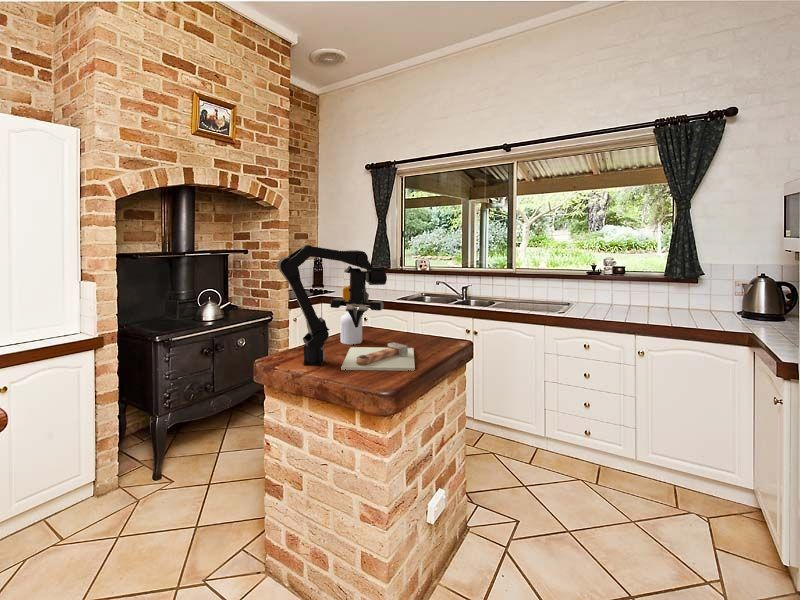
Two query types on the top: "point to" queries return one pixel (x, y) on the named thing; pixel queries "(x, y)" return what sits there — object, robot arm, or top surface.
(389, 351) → the link
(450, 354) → the top surface
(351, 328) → the soap bottle
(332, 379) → the top surface
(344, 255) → the robot arm
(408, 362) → the base board
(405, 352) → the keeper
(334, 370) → the top surface
